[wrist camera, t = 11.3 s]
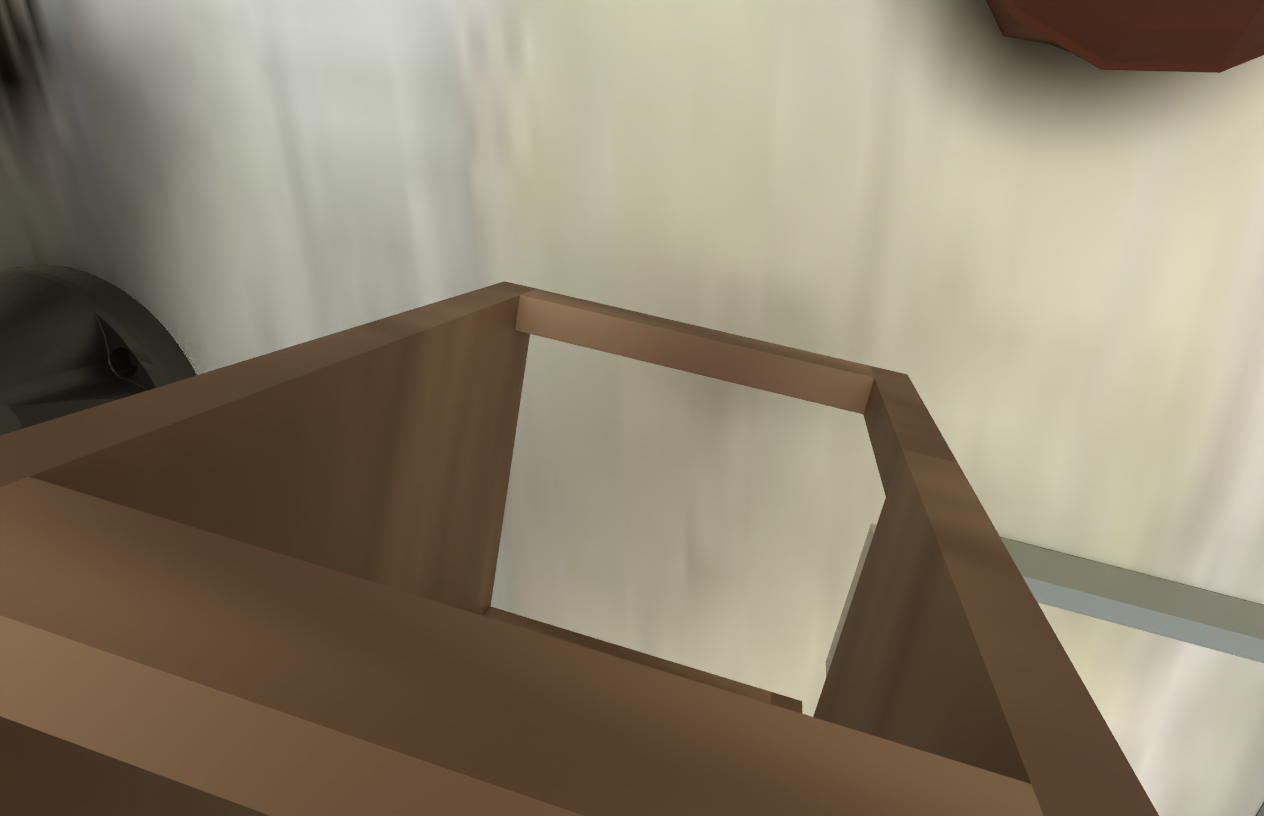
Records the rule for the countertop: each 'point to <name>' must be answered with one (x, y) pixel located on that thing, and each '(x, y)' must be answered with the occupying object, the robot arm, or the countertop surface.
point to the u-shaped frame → (1142, 601)
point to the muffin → (1141, 31)
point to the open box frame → (482, 608)
